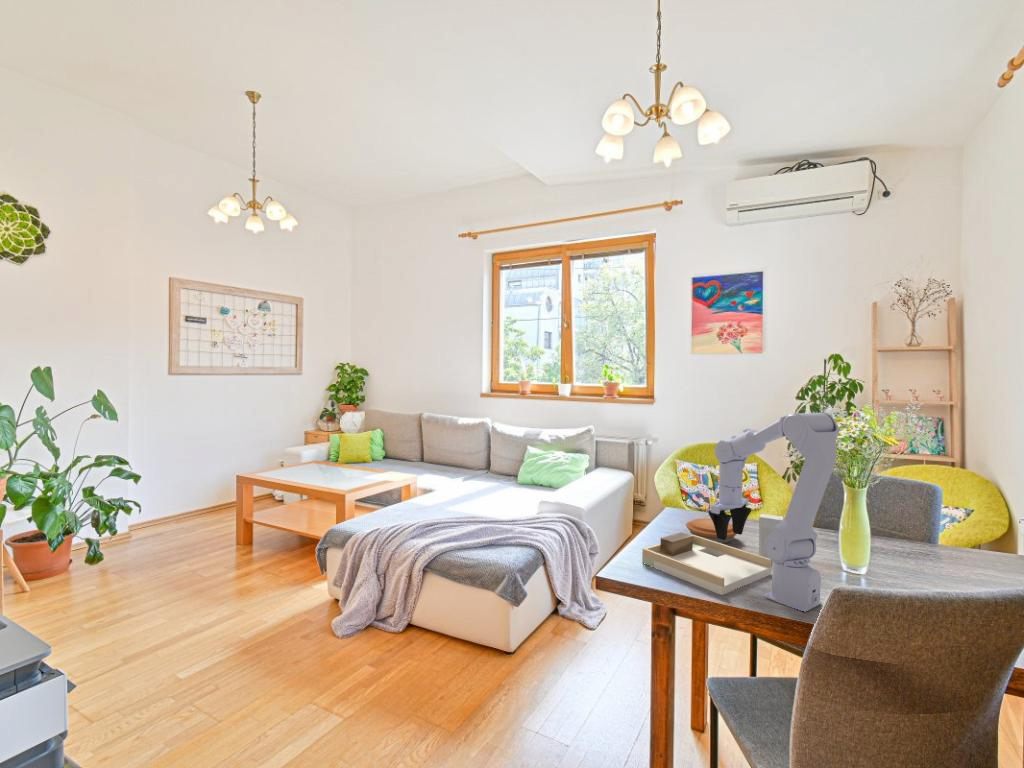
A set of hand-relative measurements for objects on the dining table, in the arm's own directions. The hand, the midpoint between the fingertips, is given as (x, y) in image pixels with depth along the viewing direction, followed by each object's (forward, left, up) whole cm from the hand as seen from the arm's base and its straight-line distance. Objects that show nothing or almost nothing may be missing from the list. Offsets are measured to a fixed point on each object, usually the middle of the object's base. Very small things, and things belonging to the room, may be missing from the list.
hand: (729, 536), depth 138 cm
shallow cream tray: (+4, +5, -9) cm, 11 cm away
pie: (+18, -19, -9) cm, 27 cm away
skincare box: (-2, -17, -9) cm, 19 cm away
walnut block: (+13, +5, -7) cm, 15 cm away
